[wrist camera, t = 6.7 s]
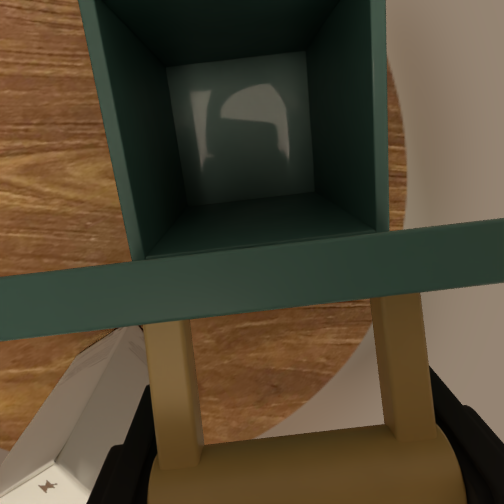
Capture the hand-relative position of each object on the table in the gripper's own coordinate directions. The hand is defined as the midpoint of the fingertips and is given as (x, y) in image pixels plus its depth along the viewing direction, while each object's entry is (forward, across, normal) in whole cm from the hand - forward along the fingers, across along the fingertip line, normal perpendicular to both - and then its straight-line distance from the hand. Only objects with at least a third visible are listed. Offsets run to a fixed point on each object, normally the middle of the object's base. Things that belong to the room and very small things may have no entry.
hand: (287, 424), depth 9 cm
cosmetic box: (+23, +12, +12) cm, 28 cm away
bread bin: (+23, 0, -8) cm, 24 cm away
